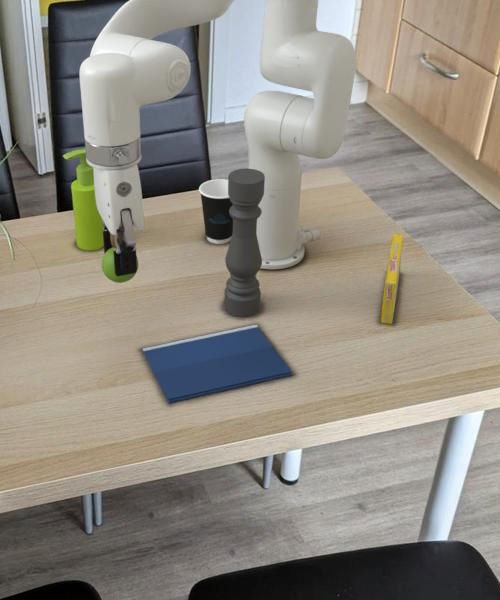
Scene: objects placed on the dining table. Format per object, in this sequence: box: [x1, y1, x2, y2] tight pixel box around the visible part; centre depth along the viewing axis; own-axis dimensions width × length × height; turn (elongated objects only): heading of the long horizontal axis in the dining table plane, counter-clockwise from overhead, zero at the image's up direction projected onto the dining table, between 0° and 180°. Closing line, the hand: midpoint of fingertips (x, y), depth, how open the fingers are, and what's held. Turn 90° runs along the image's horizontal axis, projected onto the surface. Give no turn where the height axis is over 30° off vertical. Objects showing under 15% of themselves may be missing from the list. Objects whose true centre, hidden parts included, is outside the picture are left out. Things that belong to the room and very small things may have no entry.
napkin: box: [141, 323, 293, 404], centre depth 132 cm, size 20×14×1 cm
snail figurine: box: [101, 227, 139, 284], centre depth 121 cm, size 5×6×12 cm
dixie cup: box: [198, 178, 233, 245], centre depth 162 cm, size 8×8×11 cm
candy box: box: [380, 233, 404, 325], centre depth 142 cm, size 16×2×8 cm, turn 161°
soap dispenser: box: [62, 147, 106, 252], centre depth 161 cm, size 6×7×20 cm
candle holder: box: [223, 167, 265, 318], centre depth 138 cm, size 6×6×25 cm
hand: (120, 262), depth 122 cm, fingers closed on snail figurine, 5 cm apart
